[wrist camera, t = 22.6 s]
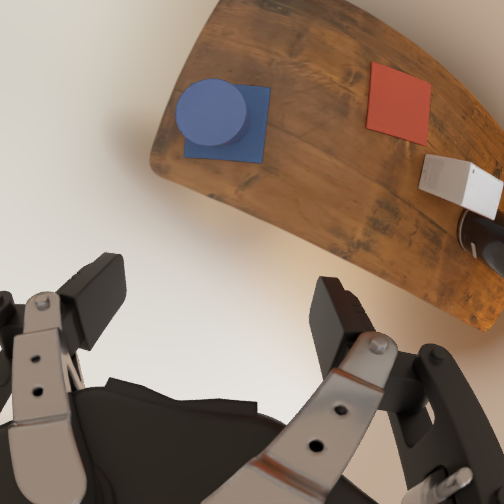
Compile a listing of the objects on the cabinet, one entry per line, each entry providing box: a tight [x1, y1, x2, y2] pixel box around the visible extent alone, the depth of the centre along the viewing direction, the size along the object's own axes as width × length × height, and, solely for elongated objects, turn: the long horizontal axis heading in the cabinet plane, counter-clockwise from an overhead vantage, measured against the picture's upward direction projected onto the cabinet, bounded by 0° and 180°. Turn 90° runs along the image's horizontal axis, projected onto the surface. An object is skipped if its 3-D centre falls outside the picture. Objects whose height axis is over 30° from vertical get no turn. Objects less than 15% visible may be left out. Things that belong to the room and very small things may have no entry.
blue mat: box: [184, 83, 271, 163], centre depth 32 cm, size 10×10×1 cm
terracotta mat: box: [366, 62, 431, 146], centre depth 30 cm, size 10×10×1 cm
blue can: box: [175, 79, 250, 146], centre depth 26 cm, size 6×6×12 cm
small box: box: [418, 154, 503, 221], centre depth 29 cm, size 8×6×10 cm
